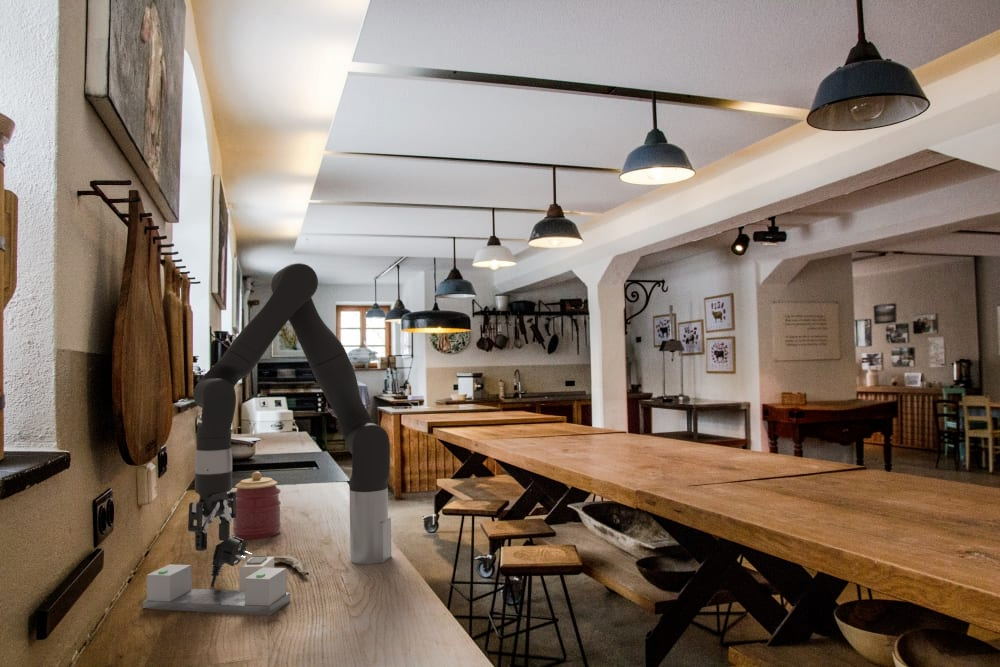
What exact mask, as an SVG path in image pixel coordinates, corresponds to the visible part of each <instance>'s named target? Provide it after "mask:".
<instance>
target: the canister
mask: <svg viewBox="0 0 1000 667" xmlns="http://www.w3.org/2000/svg"><path fill="white" fill-rule="evenodd" d="M277 485H278V481H276V480H274V479H273V478H272V477H268V476H267V477H266V476H265V477H264V476H263V477H262V473H261V472H260V471H254V472H253V473H252V474H251V478H246V479H241V480H240V481H239V482H238V483H236V484H235V488H236V490H235V491H234V492H236V518H232V524H233V525H232V534H233V535H232V536H235V537H237V538H240V539H242V540H257V539H258V540H259V539H266V538H270V537H274V536H276V535H278V534H280V532H281V528H282V523H281V502H282V501H281V500H280V496H279V494H280V493H281V489H280V488H278V487H277Z"/></svg>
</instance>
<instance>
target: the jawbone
mask: <svg viewBox="0 0 1000 667" xmlns="http://www.w3.org/2000/svg"><path fill="white" fill-rule="evenodd" d="M252 557H271V556H268V555H264V554H262V555H253V556H252ZM273 557H274V562H275V561H276V562H281V563H284V564H287V565H290V566H291V567H292V568H294V569H296V570H297V571H298V572H299V573H300V574H301V575H302V576H303V577H304V576H308V575H310V573H309V572H308V570H305V568H306V565H305V562H304V561H302V560H300V559H298V558H296V557H295V556H294V555H291V554H289V555H288V554H287V555H277V556H273Z"/></svg>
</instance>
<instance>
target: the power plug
mask: <svg viewBox="0 0 1000 667" xmlns="http://www.w3.org/2000/svg"><path fill="white" fill-rule="evenodd" d="M247 545H248V543H247V541H246V539H240V538H237V537H235V536H234V535H231V536H230V538H228V539H226V540H224V541H222V542H219V543H218V544H216V545H215V548H214V552H213V556H212V563H211V564H212V566H211V573H210V576H212V579H211V584H210V587H214V586H215V582H216V579H217V577H218V576H220V574H221V571H222V570H223V567H224V565H225V564H226V565H228V566H231V567H235V566H237V565H238V564H239V563H240V562H241V561H247V558H246V556H247V557H249V558H251V557H252V556H254V554H253V553H251V552H249V551H247Z"/></svg>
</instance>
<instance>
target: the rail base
mask: <svg viewBox="0 0 1000 667" xmlns="http://www.w3.org/2000/svg"><path fill="white" fill-rule="evenodd" d="M290 602H291V592H287V591H286V594H285V595H283V596H282V597H281V598H279V599H278V600H276V601H275V602H274V603H272V604H271V605H269V606H265V605H245V591H239V590H233V589H231V590H230V589H208V588H205V589H204V588H192V590H190V591H188V592H186V593H184V594H183V595H181V596H179V597H177V598H175V599H173V600H171V601H148V600H147V598H146V599H145V600H143V601H142V609H143V608H148V609H147V610H164V611H165V610H167V611H181V612H199V613H200V612H201V613H214V614H215V613H217V614H218V613H219V614H236V615H255V616H269V617H270V616H272V615H273V614H274V613H276V612H277V611H279V610H280V609H282V608H283V607H284V606H286V605H287V604H289V603H290Z"/></svg>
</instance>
